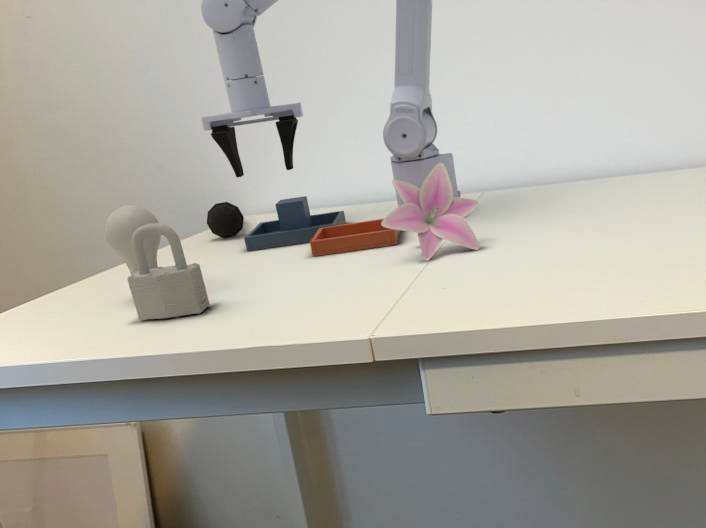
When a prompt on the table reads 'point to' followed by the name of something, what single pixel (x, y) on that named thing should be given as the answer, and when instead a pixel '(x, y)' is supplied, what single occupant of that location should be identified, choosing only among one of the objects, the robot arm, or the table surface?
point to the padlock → (165, 280)
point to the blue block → (293, 214)
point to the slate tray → (289, 232)
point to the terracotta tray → (352, 237)
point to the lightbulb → (121, 233)
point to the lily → (433, 213)
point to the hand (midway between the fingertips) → (265, 172)
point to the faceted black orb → (225, 220)
